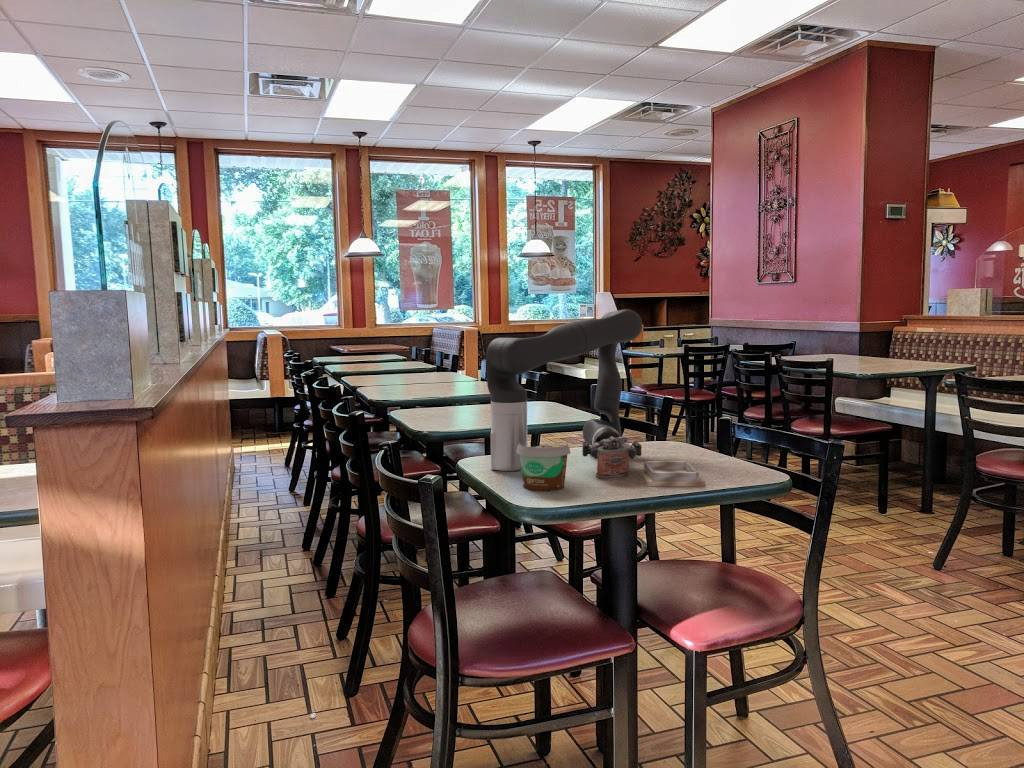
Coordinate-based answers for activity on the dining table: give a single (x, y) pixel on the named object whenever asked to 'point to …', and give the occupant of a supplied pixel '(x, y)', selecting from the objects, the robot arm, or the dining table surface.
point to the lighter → (613, 459)
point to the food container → (543, 467)
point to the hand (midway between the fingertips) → (614, 454)
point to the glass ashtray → (670, 474)
